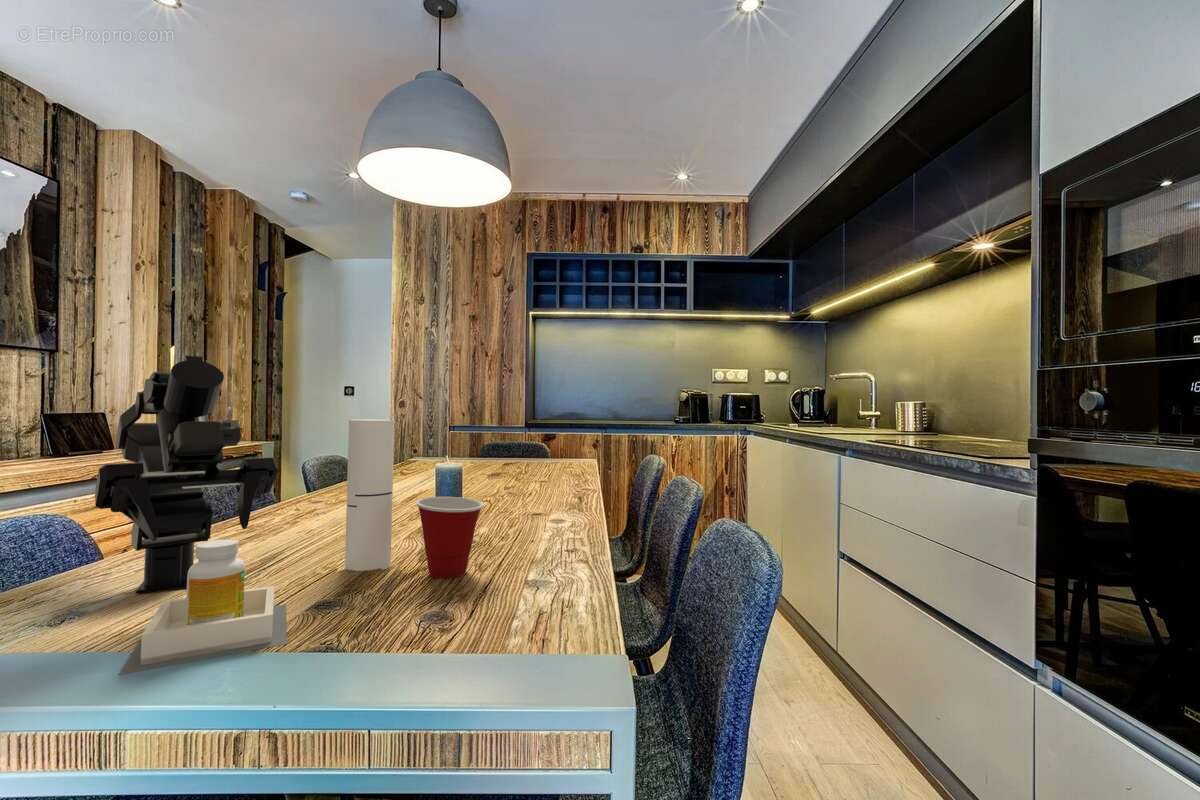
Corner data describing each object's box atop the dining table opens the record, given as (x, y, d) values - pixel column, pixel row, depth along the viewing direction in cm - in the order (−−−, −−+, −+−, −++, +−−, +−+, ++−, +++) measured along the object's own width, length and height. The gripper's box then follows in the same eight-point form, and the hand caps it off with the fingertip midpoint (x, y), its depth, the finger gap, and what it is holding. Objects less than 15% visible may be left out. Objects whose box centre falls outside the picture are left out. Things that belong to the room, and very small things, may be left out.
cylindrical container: (379, 574, 85) (383, 420, 86) (336, 573, 85) (340, 419, 86) (397, 561, 92) (400, 420, 93) (357, 561, 93) (361, 419, 93)
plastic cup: (464, 586, 80) (466, 507, 80) (400, 581, 82) (402, 504, 82) (493, 566, 90) (494, 496, 91) (435, 562, 92) (437, 494, 93)
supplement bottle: (248, 628, 61) (251, 543, 61) (190, 642, 57) (193, 551, 57) (237, 615, 64) (239, 535, 65) (181, 627, 60) (184, 543, 61)
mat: (149, 628, 63) (149, 624, 63) (286, 608, 70) (286, 604, 70) (117, 679, 51) (118, 674, 51) (286, 648, 58) (286, 643, 58)
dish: (162, 626, 62) (163, 600, 62) (273, 609, 68) (274, 586, 68) (140, 665, 53) (141, 634, 53) (271, 641, 58) (272, 614, 59)
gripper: (101, 397, 63) (108, 501, 55) (277, 401, 77) (301, 485, 69) (92, 457, 68) (97, 561, 60) (258, 452, 82) (279, 535, 74)
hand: (202, 532), depth 66 cm, fingers open, 9 cm apart
